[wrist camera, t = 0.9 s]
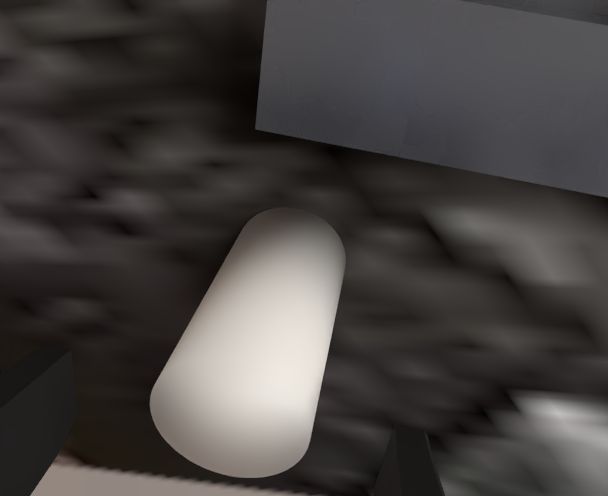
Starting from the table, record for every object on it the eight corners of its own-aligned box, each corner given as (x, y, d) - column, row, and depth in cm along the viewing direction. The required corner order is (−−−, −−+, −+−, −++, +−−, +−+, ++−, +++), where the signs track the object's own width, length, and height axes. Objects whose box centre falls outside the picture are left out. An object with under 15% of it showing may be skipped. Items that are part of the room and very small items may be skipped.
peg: (355, 220, 17) (322, 381, 11) (335, 312, 19) (298, 492, 13) (241, 197, 17) (148, 342, 11) (233, 290, 19) (150, 456, 13)
